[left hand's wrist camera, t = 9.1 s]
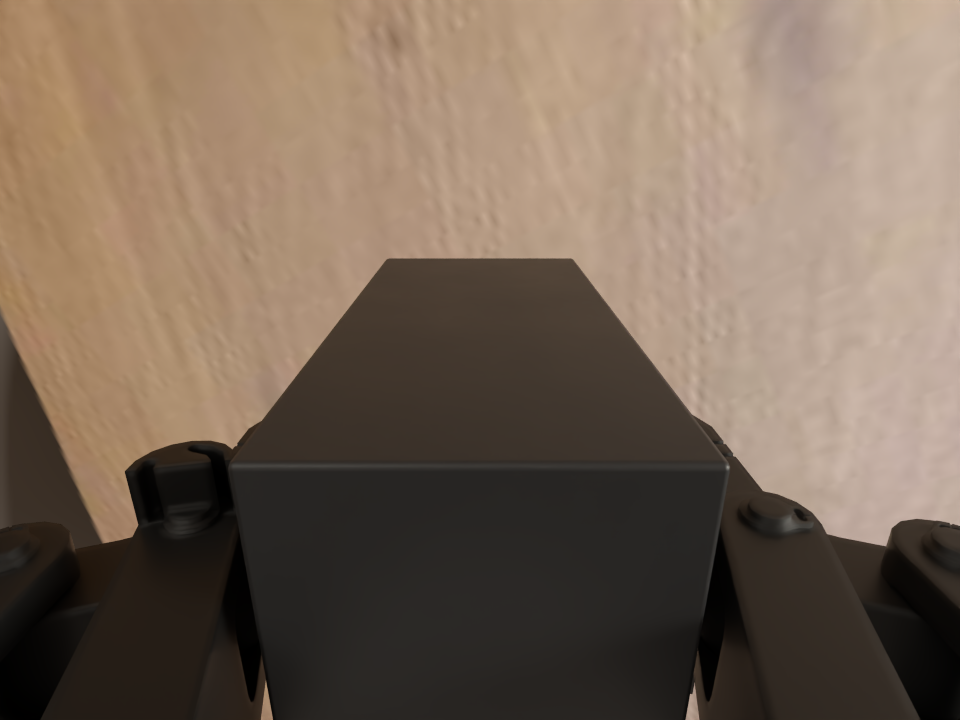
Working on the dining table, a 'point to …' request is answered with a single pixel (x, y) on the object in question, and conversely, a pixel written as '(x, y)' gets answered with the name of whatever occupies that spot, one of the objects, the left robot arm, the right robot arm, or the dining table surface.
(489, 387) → the bar
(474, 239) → the dining table surface
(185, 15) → the dining table surface
